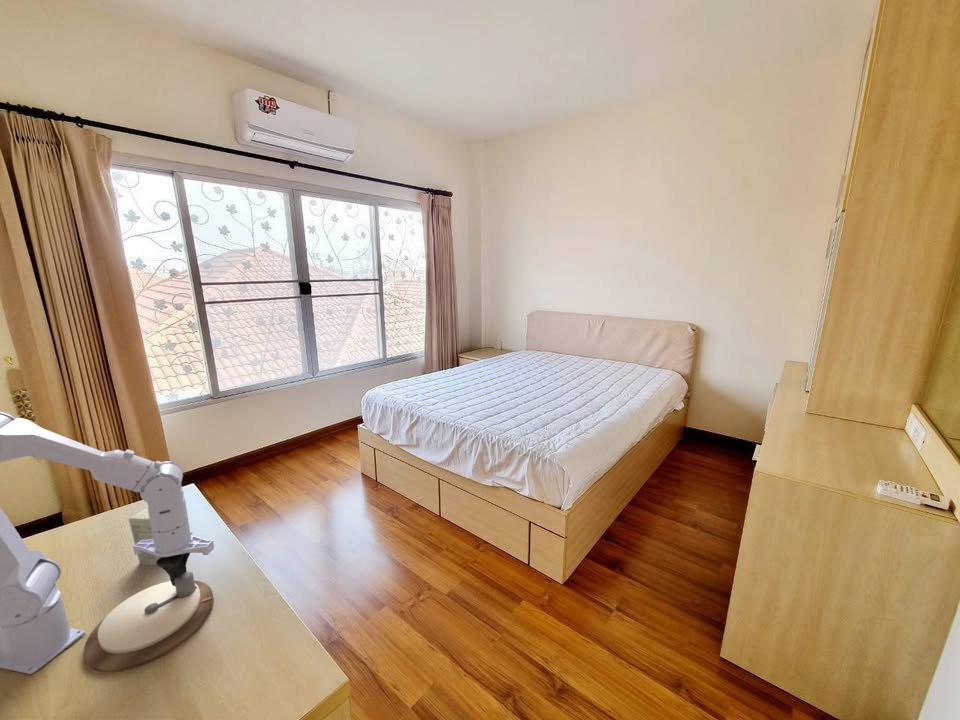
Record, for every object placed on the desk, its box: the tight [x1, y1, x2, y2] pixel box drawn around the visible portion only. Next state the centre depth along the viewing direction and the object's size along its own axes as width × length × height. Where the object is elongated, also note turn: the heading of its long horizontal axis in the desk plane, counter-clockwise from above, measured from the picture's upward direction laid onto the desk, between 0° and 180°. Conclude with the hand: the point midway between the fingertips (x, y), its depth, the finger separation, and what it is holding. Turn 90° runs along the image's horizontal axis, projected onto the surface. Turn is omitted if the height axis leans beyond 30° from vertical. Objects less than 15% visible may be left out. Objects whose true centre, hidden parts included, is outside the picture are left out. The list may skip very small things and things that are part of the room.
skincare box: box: [128, 507, 160, 566], centre depth 90 cm, size 6×4×12 cm
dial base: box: [83, 580, 215, 673], centre depth 74 cm, size 19×19×1 cm
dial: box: [98, 571, 201, 654], centre depth 73 cm, size 15×15×5 cm
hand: (180, 582), depth 79 cm, fingers closed, pressing on dial
